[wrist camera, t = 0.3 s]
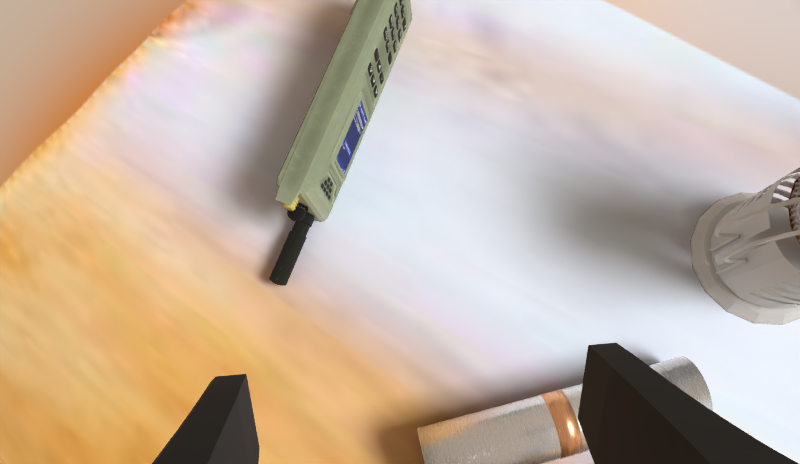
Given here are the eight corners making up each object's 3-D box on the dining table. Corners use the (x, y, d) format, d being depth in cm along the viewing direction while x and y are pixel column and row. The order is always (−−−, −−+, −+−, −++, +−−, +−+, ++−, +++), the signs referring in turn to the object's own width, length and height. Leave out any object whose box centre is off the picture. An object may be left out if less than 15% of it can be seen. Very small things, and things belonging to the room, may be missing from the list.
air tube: (669, 355, 40) (697, 357, 36) (689, 414, 39) (720, 423, 35) (416, 423, 39) (416, 433, 35) (432, 484, 39) (434, 501, 35)
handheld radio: (419, 19, 49) (303, 295, 43) (382, 9, 49) (263, 280, 43) (413, -40, 42) (276, 276, 36) (372, -50, 43) (230, 259, 37)
